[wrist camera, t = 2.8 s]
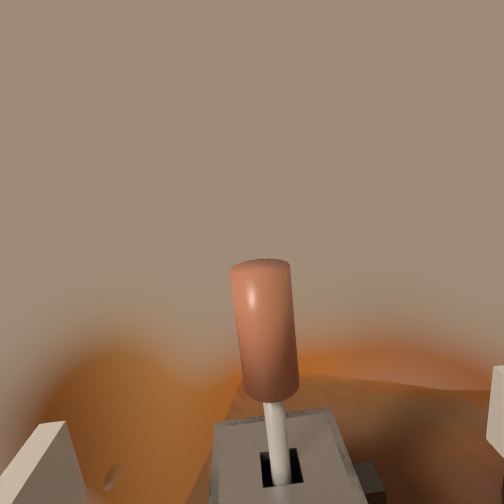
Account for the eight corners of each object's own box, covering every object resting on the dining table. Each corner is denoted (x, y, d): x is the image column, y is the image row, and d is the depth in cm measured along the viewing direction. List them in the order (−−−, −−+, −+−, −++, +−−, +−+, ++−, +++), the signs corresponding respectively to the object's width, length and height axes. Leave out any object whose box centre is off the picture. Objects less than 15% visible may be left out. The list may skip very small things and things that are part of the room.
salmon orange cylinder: (307, 528, 28) (284, 256, 21) (318, 581, 24) (295, 274, 18) (265, 534, 27) (229, 262, 21) (270, 588, 24) (228, 282, 18)
